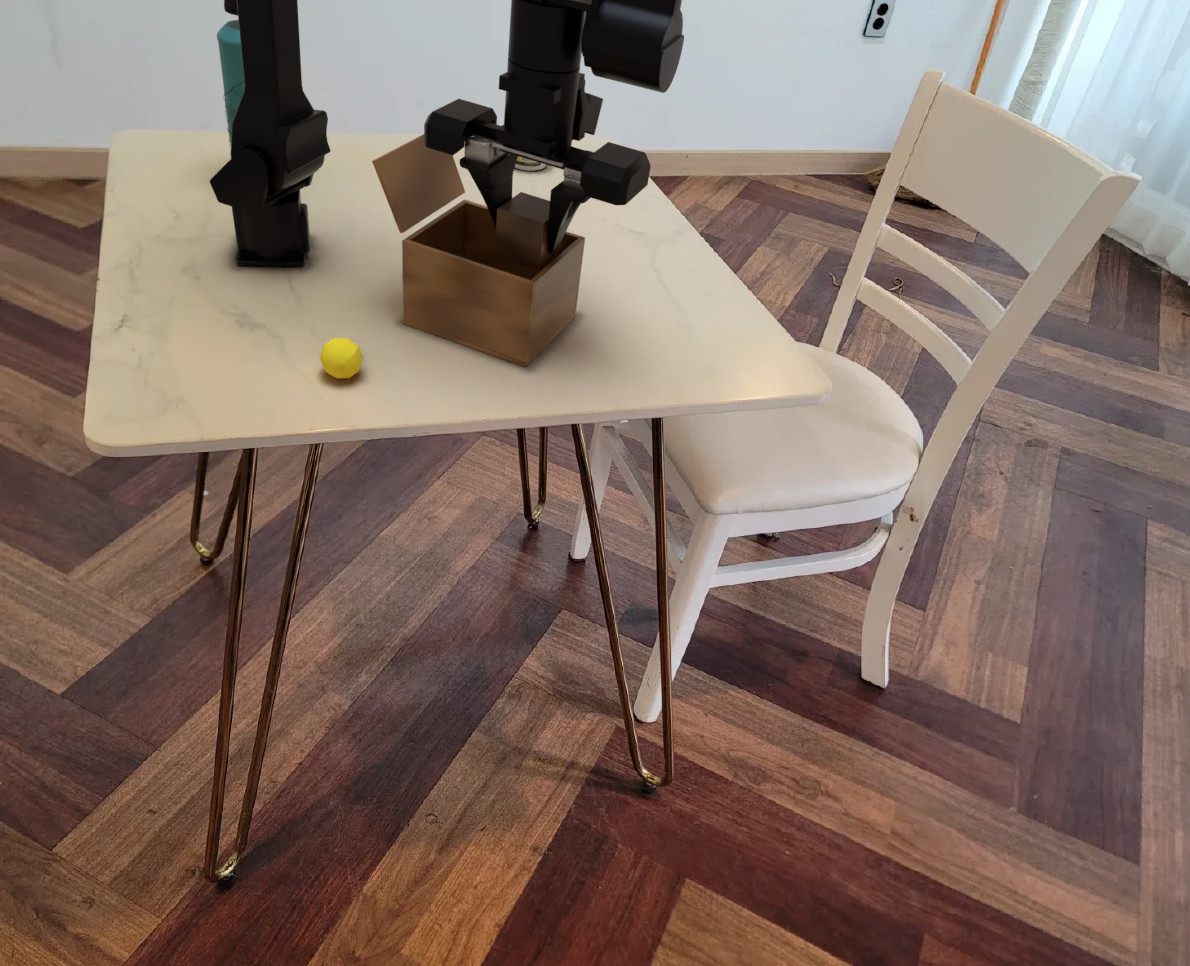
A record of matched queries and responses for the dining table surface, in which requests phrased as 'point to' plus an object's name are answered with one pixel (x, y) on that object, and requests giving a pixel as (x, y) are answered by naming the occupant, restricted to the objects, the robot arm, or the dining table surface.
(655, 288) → the dining table surface
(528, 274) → the brown wooden open box
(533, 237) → the block
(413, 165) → the flap
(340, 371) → the yellow lemon
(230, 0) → the beverage bottle
